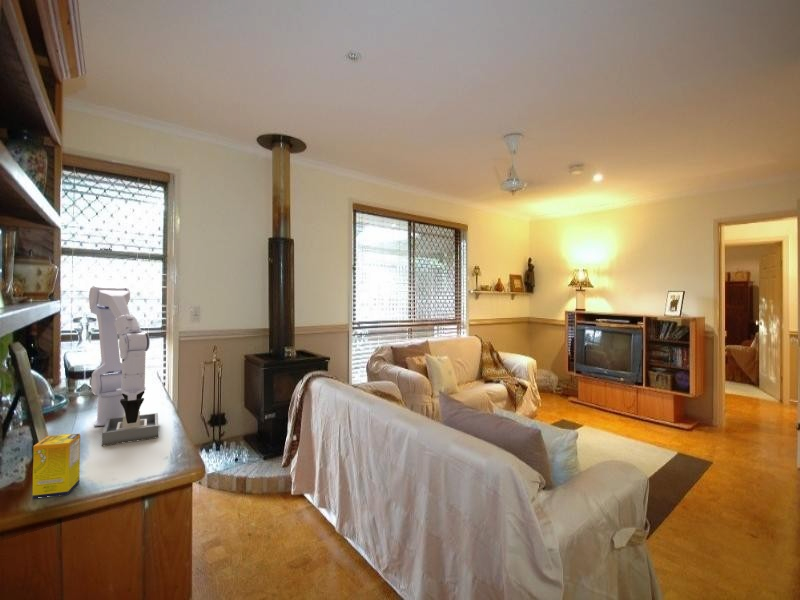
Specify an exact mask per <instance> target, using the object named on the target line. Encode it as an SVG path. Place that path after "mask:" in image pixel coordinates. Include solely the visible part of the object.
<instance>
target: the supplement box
mask: <svg viewBox="0 0 800 600" xmlns="http://www.w3.org/2000/svg"><path fill="white" fill-rule="evenodd" d="M32 449H33V453H32V454H33V455H32V457H33V458H32V459H33V460H32V462H33V463H32V499H33V498H38V497H47V496H56V497H60V496H59V495H63V496H68V495H69V494H70V493H72V492H71V491H73V490H74V489H75V487H76V486H77V485H78V484H80V475H81V474H80V472H81V471H80V470H81V469H80V468H81V467H80V466H81V433H79V432H78V433H70V434H67V433H66V434H56V435H55V434H54V435H53V434H52V435H47V436H46V437H44V438H43V439H41V440H40V441H38V442H37V443H35V444H34V445H33V448H32Z"/></svg>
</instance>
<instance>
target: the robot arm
mask: <svg viewBox="0 0 800 600" xmlns="http://www.w3.org/2000/svg"><path fill="white" fill-rule="evenodd" d="M130 298H131V292H130V289H129V288H128V287H127V286H114V285H113V286H111V285H108V286H107V285H96V284H95V285H92V286H91V287H90V289H89V292H88V303H89V309H90V313H92V314H94V315H96V318H97V324H98V325H97V326H98V336H99V347H100V358H101V364H100V366H98V367H97V368H96V369H94V370H93V371H92V373H91V380H90V381H91V382H90V388H91V392H92V393H93V394H94V395H95V396H97V407H96V408H97V411H96V413H97V414H96V416H97V417H96V420H95V423H94V425H93V427H102V426H105V423H106V420H107V419H110V418H119V417H123V414H124V413H125V415H126V420H127V423H128V424H129V423H136V421H137V418H138V413H139V411H140V409H141V406H142V404H143V403H144V401H145V398H144V397H143V396H144V394H145V391H146V385H145V384H146V382H145V381H146V352H147V351H149V349H150V345H151V344H150V343H151V342H150V337H149V333H148V332H147V331H145V330H144V329H143V330H142V328H141V327H140V324H139V322H138V320H137V318H136V317H135V316H134V315H131V314H130V313H131V312H130V310H129V306H128V305H129V302H130ZM118 338H119V339H118Z"/></svg>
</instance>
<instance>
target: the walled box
mask: <svg viewBox="0 0 800 600" xmlns="http://www.w3.org/2000/svg"><path fill="white" fill-rule="evenodd" d="M159 425H160V424H159V414H158V412H155V413H146V414H140V425H139V426H135V427H127V428H123V417H119V418H110V419H107V420H106V423H105V425H104V427H103V429H102V430H103V431H102V434H101V446H102V447H103V445H105V446H111V445H110V444H112V445H117V444H116V443H119V444H123V443H122V442H125V443H129V442H128V441H132V442H138V441H137V440H139V441H143V440H142V439H146V440H150V439H149V438H153V439H156V438H155V437H158V438H159Z"/></svg>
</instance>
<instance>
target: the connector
mask: <svg viewBox="0 0 800 600" xmlns="http://www.w3.org/2000/svg"><path fill="white" fill-rule="evenodd" d="M140 415H141V411H140V410H139V413H138V418H137V421H136V423H129V424H128V423H127V420H126V415H125V413H124V414H123V428H127V427H135V426H139V425H140Z"/></svg>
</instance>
